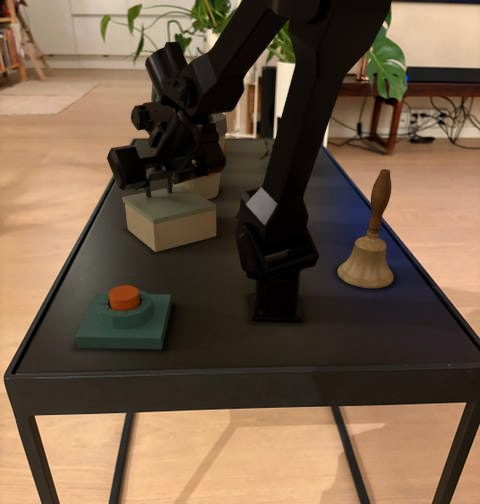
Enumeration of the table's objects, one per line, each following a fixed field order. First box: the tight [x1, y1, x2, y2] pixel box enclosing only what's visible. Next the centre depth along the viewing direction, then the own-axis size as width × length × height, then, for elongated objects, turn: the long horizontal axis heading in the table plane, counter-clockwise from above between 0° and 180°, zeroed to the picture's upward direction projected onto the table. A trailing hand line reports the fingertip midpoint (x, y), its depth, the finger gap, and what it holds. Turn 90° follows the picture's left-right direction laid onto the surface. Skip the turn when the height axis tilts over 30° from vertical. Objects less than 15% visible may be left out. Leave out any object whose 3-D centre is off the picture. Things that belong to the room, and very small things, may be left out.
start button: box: [108, 284, 140, 311], centre depth 63 cm, size 4×4×2 cm
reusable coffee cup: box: [172, 113, 228, 200], centre depth 102 cm, size 13×13×15 cm
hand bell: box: [337, 168, 394, 290], centre depth 73 cm, size 8×8×16 cm
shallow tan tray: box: [124, 203, 217, 253], centre depth 88 cm, size 11×12×5 cm
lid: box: [122, 172, 217, 224], centre depth 85 cm, size 11×12×5 cm
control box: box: [75, 289, 173, 350], centre depth 64 cm, size 10×10×4 cm
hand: (155, 185), depth 89 cm, fingers open, 7 cm apart
